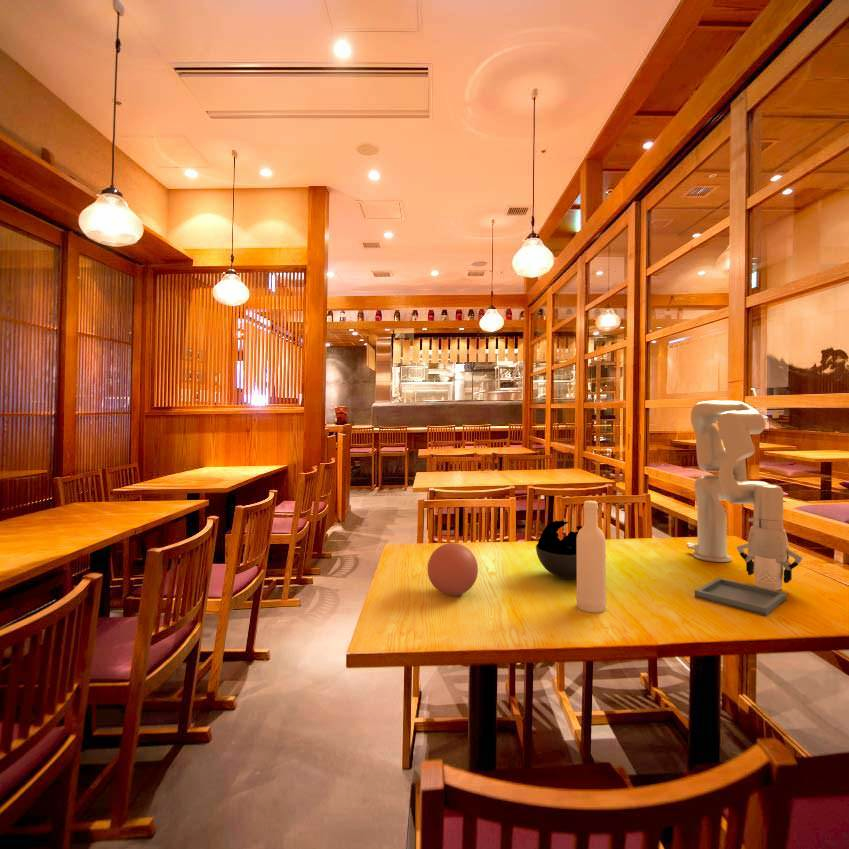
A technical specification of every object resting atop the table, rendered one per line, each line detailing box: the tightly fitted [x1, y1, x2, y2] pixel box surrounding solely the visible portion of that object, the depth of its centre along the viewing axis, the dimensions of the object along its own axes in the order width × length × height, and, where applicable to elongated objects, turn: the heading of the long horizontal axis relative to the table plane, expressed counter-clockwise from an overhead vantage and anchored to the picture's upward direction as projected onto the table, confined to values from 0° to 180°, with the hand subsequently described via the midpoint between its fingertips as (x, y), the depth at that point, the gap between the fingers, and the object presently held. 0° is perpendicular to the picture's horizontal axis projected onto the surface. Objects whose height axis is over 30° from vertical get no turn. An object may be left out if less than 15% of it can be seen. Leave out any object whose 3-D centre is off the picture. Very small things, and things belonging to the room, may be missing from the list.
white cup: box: [752, 555, 785, 591], centre depth 150 cm, size 8×8×10 cm
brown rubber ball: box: [427, 542, 479, 596], centre depth 148 cm, size 15×20×15 cm
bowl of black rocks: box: [535, 520, 583, 580], centre depth 160 cm, size 20×20×19 cm
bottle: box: [576, 500, 607, 614], centre depth 134 cm, size 8×8×30 cm
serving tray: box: [694, 577, 788, 617], centre depth 140 cm, size 18×18×2 cm
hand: (768, 578), depth 150 cm, fingers open, 9 cm apart
